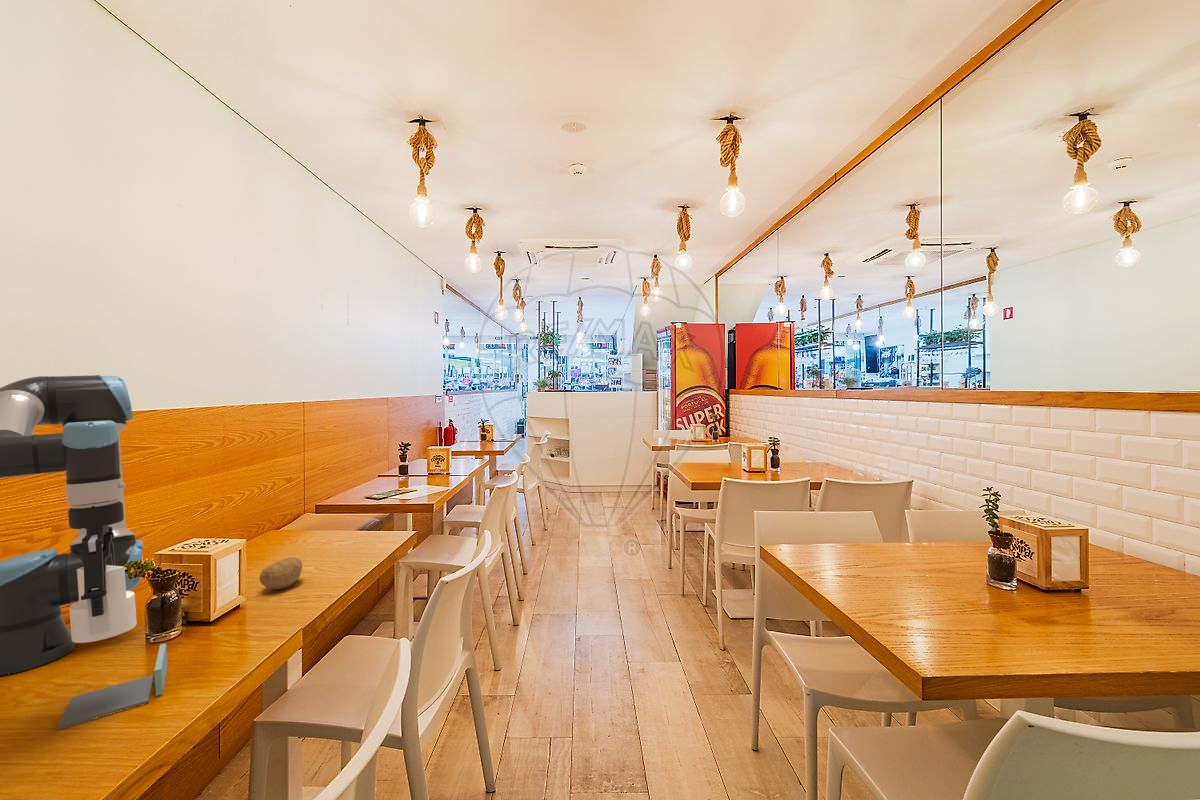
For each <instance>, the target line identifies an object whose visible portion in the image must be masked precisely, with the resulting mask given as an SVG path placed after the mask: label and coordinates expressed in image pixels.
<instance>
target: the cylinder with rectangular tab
mask: <svg viewBox="0 0 1200 800" xmlns="http://www.w3.org/2000/svg"><path fill="white" fill-rule="evenodd" d="M105 573H106V591H107V593H106V594H108V602H109V616H110V631H106V632H102V633H97V634H93V635H89V621H88V607H87V599H86V600H81V596H84V567H82V568H79V569H77V578H78V592H79V601H78V602H76V603H71V605H69V609H68V610H69V621H70V632H71V637H72V642H74V644H77V643H78V644H85V643H92V642H97V641H103V640H106V639H109V638H113V637H116V636H119V635H122V634H124V633H126V632H129V631H130V630H132V629H134V628H135V627H136V626H137V624H138V622H137V610H136V597H135V595H136V594H135V592H134V591H131V590H128V591H126V583H125V569H124V567H123V566H112V565H106V572H105ZM95 589H99V588H95ZM95 589H92V590H95Z"/></svg>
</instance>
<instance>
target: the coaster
mask: <svg viewBox="0 0 1200 800" xmlns="http://www.w3.org/2000/svg"><path fill="white" fill-rule="evenodd" d="M154 680H155V674H151V675H148V676H144V677H139V678H136V679H132V680H129V681H125V682H121V683H119V684H114V685H110V686H108V687H107V686H106V687H103V688H100V689H97V690H92V691H91V690H90V691H88V692H85V693H80V694H77V695H74V696H73V695H72V696H71V698H70V701H69V702H68V705H67V707H66V708H65V710H64V713H63V715H62V717H61V719H60V721H59V723H58V725H57V730H63V729H66V728H69V727H73V726H76V725H80V724H83V723H86V722H90V721H92V719H94V718H96V717H99V716H103V715H106V714H110V713H113V712H117V711H120V710H124V711H126V710H125V709H127V708H131V707H134V706H138V707H140V706H139V705H141V704H145V703H148V704H149V702H150V698H149V697H151V693H150V692H152V689H151V688H153V684H154ZM152 683H153V684H152ZM148 701H149V702H148ZM145 705H146V704H145ZM141 706H142V705H141ZM134 708H135V707H134ZM131 709H132V708H131ZM117 713H118V712H117ZM89 720H90V721H89ZM94 720H95V719H94Z"/></svg>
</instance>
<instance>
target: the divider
mask: <svg viewBox="0 0 1200 800" xmlns="http://www.w3.org/2000/svg"><path fill="white" fill-rule="evenodd" d="M167 650H168V649H167V643H162V644H159V648H158V653H157V657H156V662H155V666H154V669H153V671H154V685H155V697H156V696H157V697H159V696H158V695H161V694H163V695H164V691H165V690H164V689H165V686H164V685H165V684H166V680H165V679H166V678H167V674H168V673H167V672H168V668H169V667H168V666H169V664H168V653H167ZM167 667H168V668H167ZM166 673H167V674H166ZM163 690H164V691H163ZM161 696H162V695H161Z"/></svg>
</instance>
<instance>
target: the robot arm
mask: <svg viewBox="0 0 1200 800" xmlns="http://www.w3.org/2000/svg"><path fill="white" fill-rule="evenodd" d="M130 398H131V397H130V394H129V391H128V387H127V385H126V382H125V380H124V379H123V378H122V377H120V376H117V375H101V374H97V375H63V376H61V375H60V376H49V375H46V376H45V375H43V376H34V377H33V376H32V377H28V378H23V379H19V380H17V381H13V382H11V383H8V384H6V385H3V386H2V387H0V479H5V478H12V477H13V478H14V477H21V476H22V477H23V476H31V475H40V474H52V473H62V472H65V493H66V505H68V506H70V508H69V509H68V510H67V514H68V515H67V516H68V517H67V518H68V527H69V528H70V529H72V530H77V535H78V536H77V537H76V538H75V539H74V540H73V541H72V542H71V543H70V544H69V547H70V548H69V552H66V553H59V552H58V551H57V549H55V548H47V549H40V550H36V551H35V550H34V551H30V552H27V553H26V552H25V553H23V554H19V555H16V556H13V557H9V558H5V559H3V560H1V561H0V675H3V676H5V675H4V674H8V673H13V674H17V673H22V672H24V671H28V669H29V670H31V668H32V669H35V668H38V667H41V666H44V665H46V664H45V663H47V664H50V663H52V662H54V661H56V659H57V658H59V657H61V656H63V655H65V654H67V653H68V654H70V653H71V652H72V651H74V649H75V642H72V637H71V630H70V629H69V628H68V625H67V624H66V622H65V620H64V619H63V616H62V608H61V607H62V606H66V605H70V604H71V605H72V604H74V603H76V602H78V601H79V592H78V578H77V569H79V568H82V567H84V596H81V600H86V599H87V607H88V621H89V635H93V634H97V633H102V632H106V631H110V616H109V602H108V594H106V593H107V591H106V573H105V572H106V565H112V566H124V565H125V564H126V563H129V562H131V561H137V560H142V561H143V555H144V554H143V553H144V552H143V550H144V548H143V547H144V541H142V540H141V539H136V534H135V533H134V532H133V531H131V530H129V529H128V528H127V522H126V521H127V520H126V510H125V509H126V508H125V506H126V505H125V496H124V495H125V493H124V489H125V488H126V486H127V485H126V483H125V482H124V481H123V468H122V455H121V454H122V453H121V440H120V434H121V433H122V432H123V431H124V430H125V429H126V428H127V422H128V421H131V420H133V419H134V413H133V409H132V408H133V407H132V403H131V399H130ZM43 425H44V426H45V425H47V426H48V425H62V432H54V433H43V434H34V433H35V430H36V426H43ZM140 581H141V576H140V577H136V578H132V579H129V578H128V575H127V573H126V572H125V583H126V591H131V590H133V589H135V588H136V587H138V585H139V584H140ZM95 588H99V589H95ZM92 589H95V590H92ZM73 648H74V649H73ZM71 650H72V651H71ZM70 651H71V652H70ZM69 652H70V653H69ZM68 654H67V655H68ZM65 656H66V655H65ZM63 657H64V656H63ZM61 658H62V657H61ZM59 659H60V658H59ZM57 660H58V659H57ZM51 661H52V662H51ZM49 662H50V663H49ZM43 664H44V665H43ZM40 665H41V666H40ZM37 666H38V667H37ZM16 672H17V673H16ZM8 675H9V674H8Z"/></svg>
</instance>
